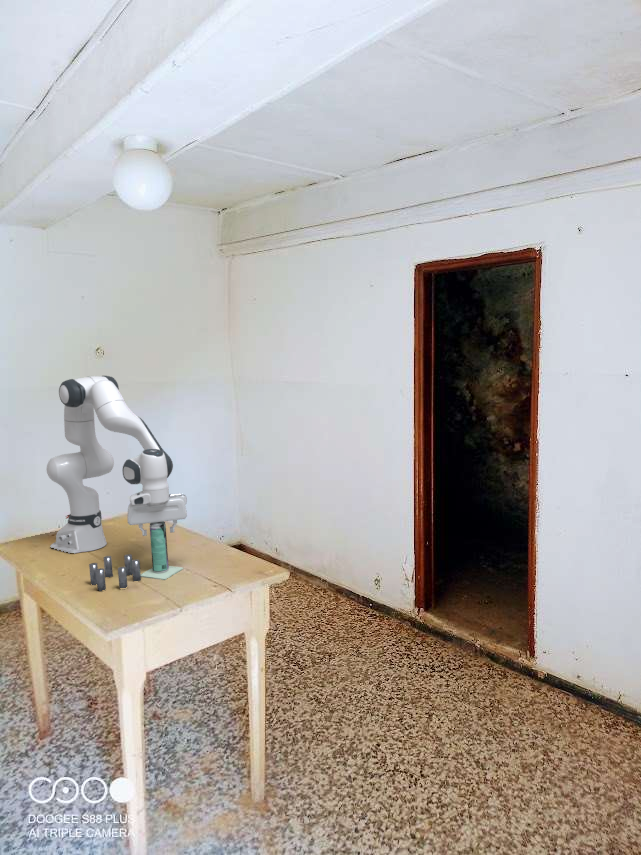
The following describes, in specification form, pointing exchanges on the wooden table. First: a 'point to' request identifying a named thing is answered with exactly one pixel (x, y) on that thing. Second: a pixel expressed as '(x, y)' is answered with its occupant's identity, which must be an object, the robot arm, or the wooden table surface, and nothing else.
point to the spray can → (159, 547)
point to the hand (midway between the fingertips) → (158, 533)
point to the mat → (161, 576)
